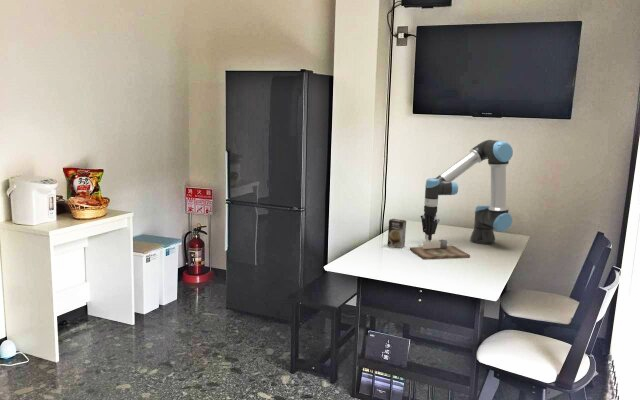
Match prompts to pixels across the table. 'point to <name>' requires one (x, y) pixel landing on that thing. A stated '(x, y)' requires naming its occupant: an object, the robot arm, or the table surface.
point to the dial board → (439, 253)
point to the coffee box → (396, 233)
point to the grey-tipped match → (435, 244)
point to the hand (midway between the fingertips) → (427, 245)
